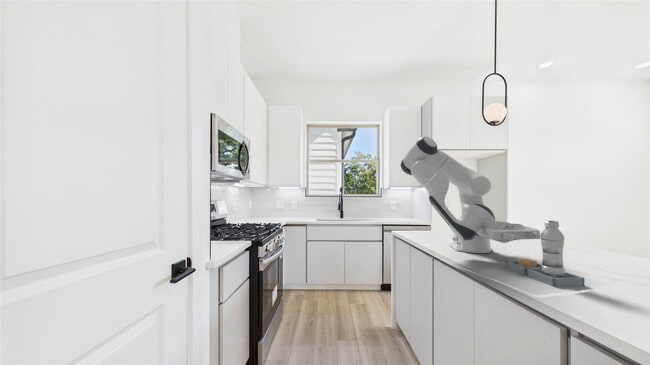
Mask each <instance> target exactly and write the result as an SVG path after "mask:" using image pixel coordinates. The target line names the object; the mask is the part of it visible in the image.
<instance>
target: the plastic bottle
mask: <svg viewBox="0 0 650 365" xmlns="http://www.w3.org/2000/svg"><path fill="white" fill-rule="evenodd" d="M544 227H545V228H544V229H542V231H541V232H540V243H541V248H542V258H541V259H542V261H541V265H542V266H541V274H544V275H546V276H549V277H552V278H565V275H566V274H565V272H566V269H565V267H564V260H563V259H564V258H563V257H564V245H565V235H564V233H563V232H562V231H561V230H560V229H559V228H560V224H559V221H556V220H544Z"/></svg>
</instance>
